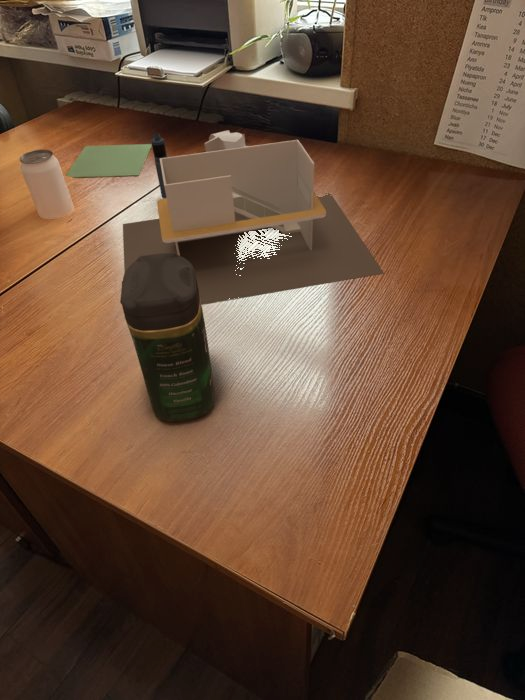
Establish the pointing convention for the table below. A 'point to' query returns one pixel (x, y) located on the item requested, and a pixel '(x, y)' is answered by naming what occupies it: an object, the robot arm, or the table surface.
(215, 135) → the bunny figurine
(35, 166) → the can
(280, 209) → the architectural model
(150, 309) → the coffee jar
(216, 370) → the table surface
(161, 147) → the vaping device
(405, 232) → the table surface
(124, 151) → the mat
